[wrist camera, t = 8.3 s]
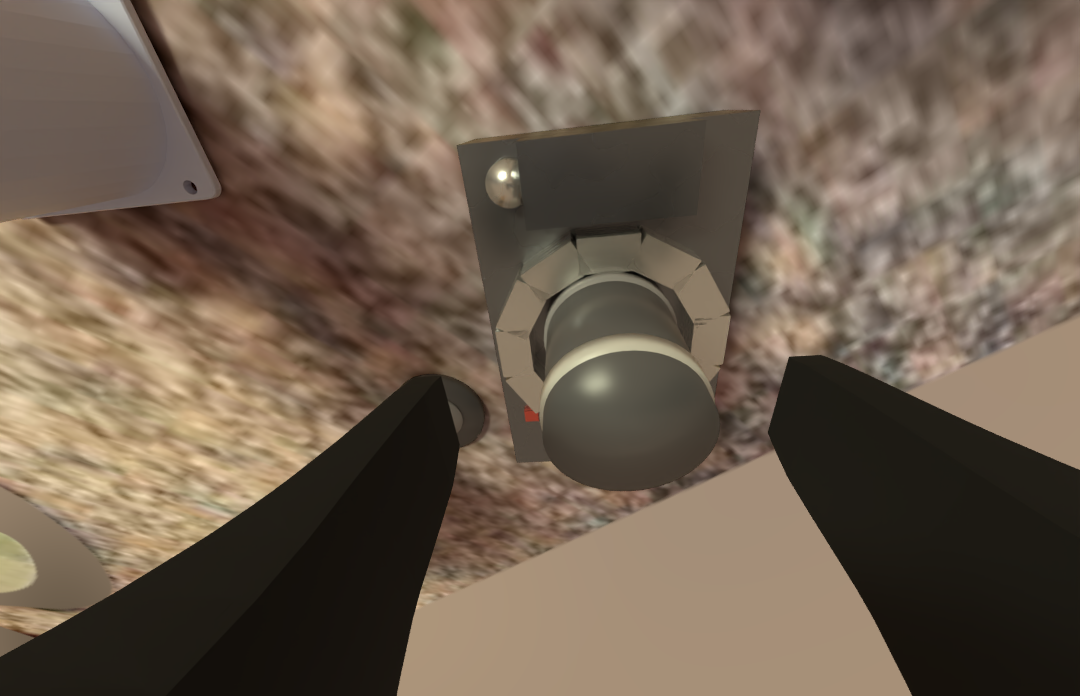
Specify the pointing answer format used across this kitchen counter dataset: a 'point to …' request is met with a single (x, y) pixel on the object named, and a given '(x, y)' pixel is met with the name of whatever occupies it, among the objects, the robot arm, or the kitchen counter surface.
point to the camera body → (606, 232)
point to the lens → (622, 387)
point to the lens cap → (463, 409)
